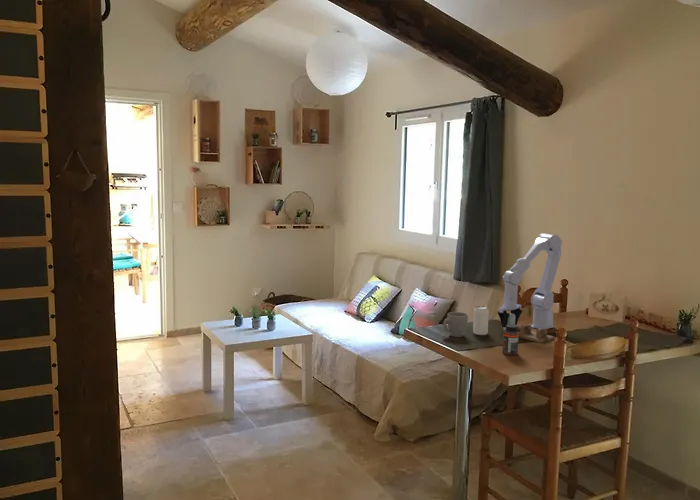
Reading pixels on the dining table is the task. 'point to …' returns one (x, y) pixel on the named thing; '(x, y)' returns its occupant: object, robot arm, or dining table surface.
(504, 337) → the supplement bottle
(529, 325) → the holder
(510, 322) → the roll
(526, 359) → the dining table surface
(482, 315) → the can
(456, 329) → the mug
